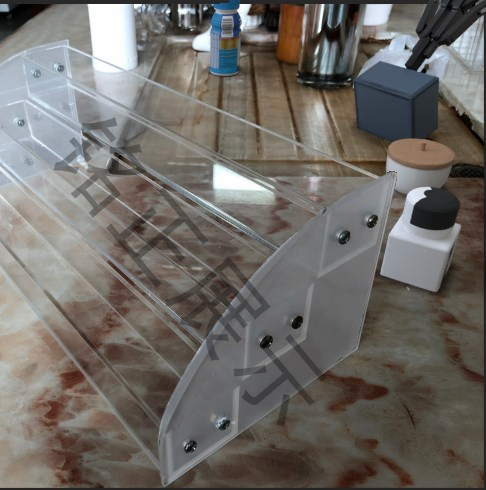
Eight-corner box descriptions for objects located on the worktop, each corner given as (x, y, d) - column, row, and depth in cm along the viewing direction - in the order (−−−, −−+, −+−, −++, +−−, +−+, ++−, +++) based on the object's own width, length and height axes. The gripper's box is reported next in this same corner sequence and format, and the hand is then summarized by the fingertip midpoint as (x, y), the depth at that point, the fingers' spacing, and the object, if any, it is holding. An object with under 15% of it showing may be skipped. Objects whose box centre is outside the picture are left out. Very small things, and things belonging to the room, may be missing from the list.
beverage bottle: (203, 73, 164) (204, -4, 153) (220, 65, 169) (223, -10, 158) (228, 79, 159) (231, -1, 148) (245, 71, 164) (250, -6, 153)
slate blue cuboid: (411, 149, 120) (411, 98, 112) (357, 127, 130) (353, 80, 122) (437, 128, 122) (439, 77, 114) (382, 109, 132) (379, 60, 124)
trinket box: (446, 183, 108) (459, 134, 102) (442, 210, 99) (456, 159, 94) (384, 173, 111) (394, 125, 106) (376, 198, 103) (386, 149, 98)
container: (448, 269, 86) (472, 189, 79) (435, 297, 80) (459, 215, 73) (394, 253, 89) (412, 176, 82) (378, 279, 84) (395, 199, 77)
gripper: (517, -13, 115) (443, 88, 117) (457, -23, 125) (389, 71, 126) (510, -41, 110) (432, 66, 112) (448, -48, 119) (376, 50, 121)
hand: (409, 69), depth 119 cm, fingers closed
